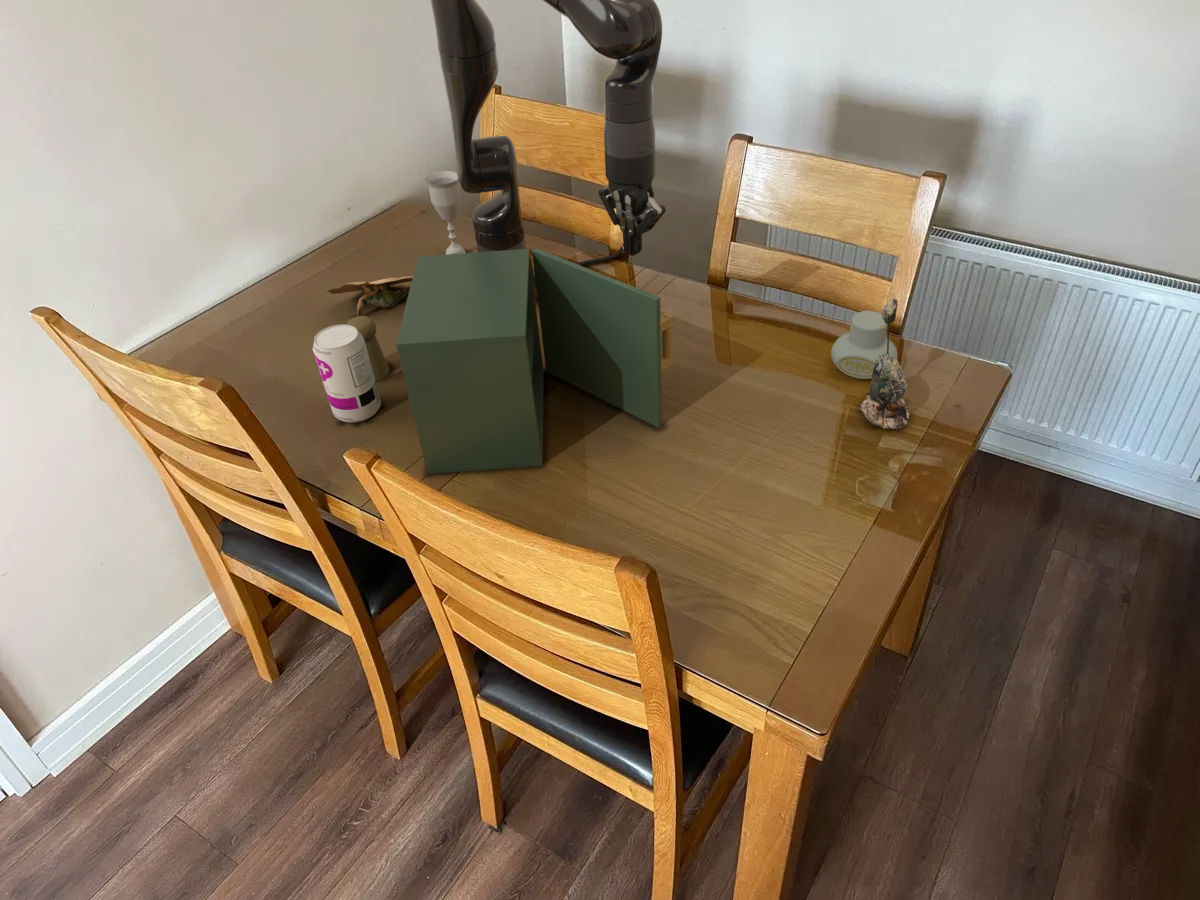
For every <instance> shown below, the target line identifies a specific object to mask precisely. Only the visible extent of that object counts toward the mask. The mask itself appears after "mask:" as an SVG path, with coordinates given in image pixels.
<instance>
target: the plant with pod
mask: <svg viewBox="0 0 1200 900" xmlns="http://www.w3.org/2000/svg"><path fill="white" fill-rule="evenodd" d="M897 311H898V300H897V299H896V298H890V299H889V300H888V302H887V303H886V304H885V305H884V306H883V308H882V310H881V314H882V317H883V320H884V322H885V323H886V324H887V332H886V337H887V354H886V353H885V354H884V355H880V356H878V358H877V360H876V363H875V365H874V369H873V373H872V378H871V382H870V387H869V391H868V392H867V393H866V395H865V399H864V400H863V402H861V404H860V407H859V410H860V411H861V412H862V413H863V416H864V417H865V418H866V420H867V422H868V423H869V424H870V425H872V426H874V427H878V428H882V429H893V430H895V429H896V430H898V429H902V428H904V427H906V426H907V425H908V423H909V422H908V420H909V418H910V415H911V413H910V412H909V411H908V409H909V408H908V404H907V403H906V401H905V400H906V399H904V398H903V397H904V395H905V393H906V391H907V385H908V384H907V383H908V382H907V381H906V377H905V373H904V371H903V369H902V366H901V364H900V363H899V361H898V359H896V358H895V357H893V356H891V355H889V352H888V350H889V339H890V330H891V324H893V323H895V320H896V317H897Z"/></svg>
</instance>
